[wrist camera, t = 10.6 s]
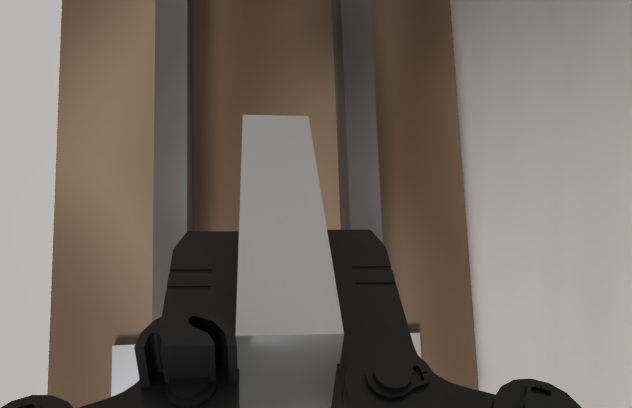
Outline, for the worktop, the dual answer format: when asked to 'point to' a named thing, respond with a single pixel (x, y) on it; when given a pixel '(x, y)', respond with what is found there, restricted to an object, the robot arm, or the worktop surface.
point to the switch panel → (225, 159)
